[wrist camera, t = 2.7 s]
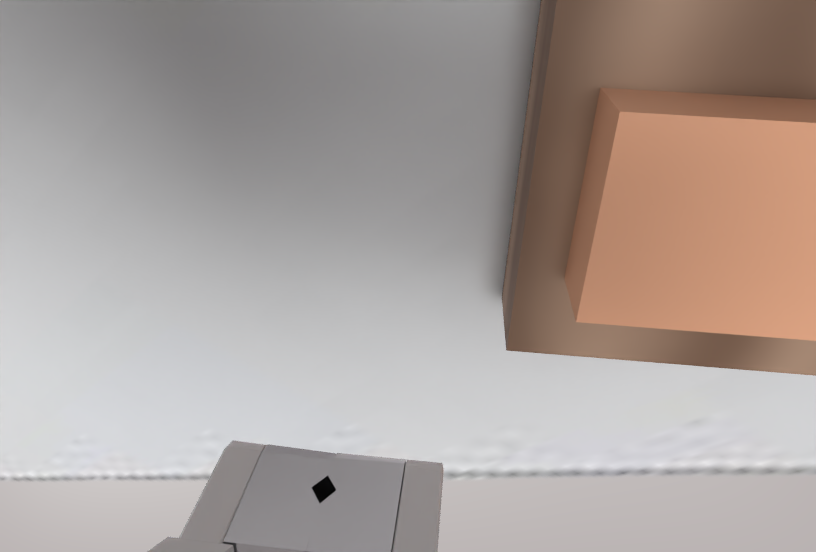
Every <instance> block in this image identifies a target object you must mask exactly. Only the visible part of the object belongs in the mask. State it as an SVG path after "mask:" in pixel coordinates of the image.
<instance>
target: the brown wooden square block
mask: <svg viewBox="0 0 816 552" xmlns="http://www.w3.org/2000/svg"><path fill="white" fill-rule="evenodd" d="M600 88H615V89H633V90H651V91H669V92H687V93H705V94H722V95H740V96H758V97H776V98H794V99H812V100H816V0H541V5H540V13H539V20H538V28H537V35H536V43H535V51H534V58H533V66H532V73H531V81H530V88H529V96H528V104H527V111H526V119H525V126H524V134H523V141H522V149H521V157H520V164H519V172H518V179H517V187H516V194H515V202H514V210H513V217H512V225H511V232H510V240H509V247H508V255H507V263H506V270H505V278H504V285H503V293H502V304H503V316H504V327H505V339H506V350H508V351H521V352H533V353H545V354H558V355H570V356H582V357H595V358H607V359H619V360H632V361H644V362H656V363H669V364H681V365H693V366H705V367H718V368H730V369H742V370H755V371H767V372H779V373H792V374H804V375H816V341H811V340H798V339H785V338H772V337H760V336H747V335H734V334H721V333H708V332H696V331H683V330H670V329H657V328H644V327H632V326H619V325H606V324H593V323H580V322H576V320H575V316H574V312H573V309H572V305H571V301H570V298H569V294H568V290H567V286H566V283H565V279H564V278H565V273H566V267H567V262H568V257H569V251H570V246H571V241H572V236H573V230H574V225H575V220H576V214H577V209H578V204H579V198H580V193H581V188H582V182H583V177H584V172H585V167H586V161H587V156H588V151H589V145H590V140H591V135H592V129H593V124H594V119H595V113H596V108H597V103H598V98H599V92H600Z"/></svg>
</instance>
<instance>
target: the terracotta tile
mask: <svg viewBox="0 0 816 552" xmlns="http://www.w3.org/2000/svg"><path fill="white" fill-rule="evenodd" d="M564 279H565V283H566V286H567V290H568V294H569V298H570V301H571V305H572V309H573V312H574V316H575V320H576V322H580V323H593V324H606V325H619V326H632V327H644V328H657V329H670V330H683V331H696V332H708V333H721V334H734V335H747V336H760V337H772V338H785V339H798V340H811V341H816V100H812V99H794V98H776V97H758V96H740V95H722V94H705V93H687V92H669V91H651V90H633V89H615V88H600V92H599V98H598V103H597V108H596V113H595V119H594V124H593V129H592V135H591V140H590V145H589V151H588V156H587V161H586V167H585V172H584V177H583V182H582V188H581V193H580V198H579V204H578V209H577V214H576V220H575V225H574V230H573V236H572V241H571V246H570V251H569V257H568V262H567V267H566V273H565V278H564Z"/></svg>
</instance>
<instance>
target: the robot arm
mask: <svg viewBox="0 0 816 552" xmlns="http://www.w3.org/2000/svg"><path fill="white" fill-rule="evenodd" d="M442 483H443V464H442V463H435V462H425V461H415V460H407V462H406V460H405V459H395V458H384V457H374V456H364V455H353V454H343V453H337V454H336V453H328V452H321V451H313V450H306V449H298V448H291V447H283V446H276V445H263V444H256V443H248V442H241V441H232V442H231V443H230V444H229V445H228V446H227V447H226V448H225V449H224V451H223V453H222V455H221V457H220V459H219V460H218V462H217V464H216V466H215V468H214V470H213V472H212V474H211V476H210V478H209V480H208V482H207V484H206V486H205V488H204V490H203V492H202V494H201V496H200V498H199V500H198V502H197V504H196V505H195V507H194V509H193V512H192V513H191V515H190V517H189V519H188V521H187V523H186V525H185V527H184V529H183V531H182V533H181V535H180V537H179V538H173V537H167V538H166V539H164V540H163V541H162V542H160V543H159V544H157V545H156V546H154V547H153V548H152V549H150V550H149V551H147V552H437V549H438V537H439V536H438V535H439V523H440V522H439V521H440V510H441V495H442Z"/></svg>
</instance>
